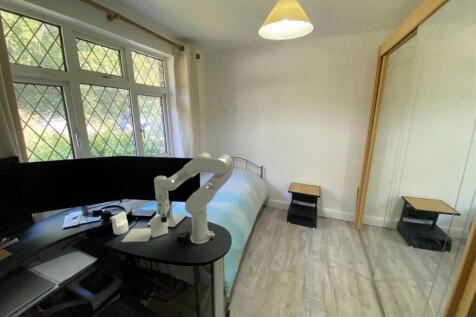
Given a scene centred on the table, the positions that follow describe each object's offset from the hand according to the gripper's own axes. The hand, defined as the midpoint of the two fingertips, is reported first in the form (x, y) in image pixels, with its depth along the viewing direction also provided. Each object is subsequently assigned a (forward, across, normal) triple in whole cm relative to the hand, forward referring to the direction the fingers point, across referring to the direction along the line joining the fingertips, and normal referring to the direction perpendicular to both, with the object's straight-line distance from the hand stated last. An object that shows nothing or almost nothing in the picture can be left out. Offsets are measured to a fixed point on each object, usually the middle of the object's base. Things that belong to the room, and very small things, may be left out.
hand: (164, 221), depth 129 cm
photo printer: (+10, 0, +3) cm, 10 cm away
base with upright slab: (+11, +7, +32) cm, 35 cm away
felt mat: (+10, +1, +17) cm, 20 cm away
